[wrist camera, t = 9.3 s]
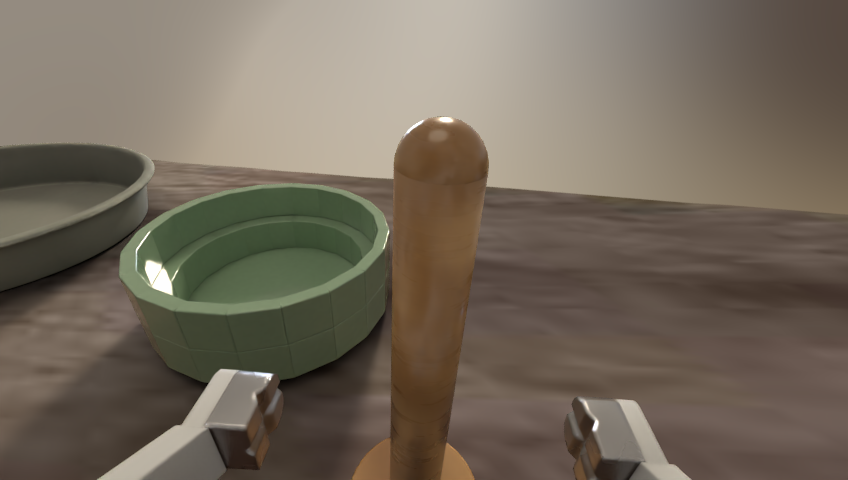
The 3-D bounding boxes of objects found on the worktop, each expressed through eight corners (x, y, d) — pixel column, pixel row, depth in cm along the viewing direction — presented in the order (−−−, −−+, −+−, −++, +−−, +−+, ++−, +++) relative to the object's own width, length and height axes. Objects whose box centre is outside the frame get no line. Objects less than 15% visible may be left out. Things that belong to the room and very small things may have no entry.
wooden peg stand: (448, 456, 18) (509, 93, 9) (489, 588, 14) (670, 160, 5) (345, 482, 17) (300, 90, 8) (357, 635, 13) (292, 178, 4)
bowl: (372, 237, 35) (371, 179, 32) (408, 366, 22) (412, 290, 19) (190, 253, 31) (169, 188, 28) (110, 421, 19) (54, 337, 15)
